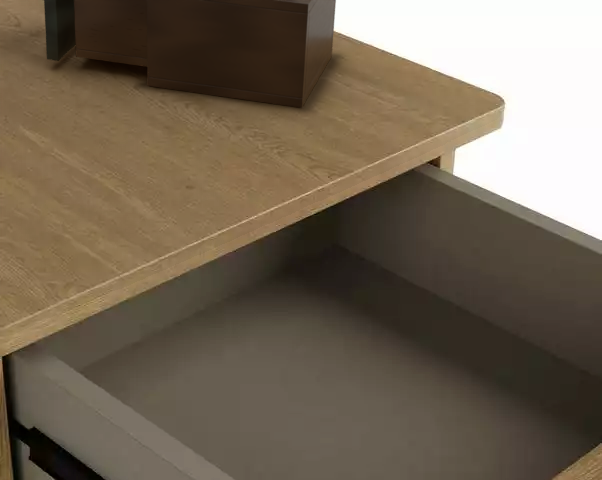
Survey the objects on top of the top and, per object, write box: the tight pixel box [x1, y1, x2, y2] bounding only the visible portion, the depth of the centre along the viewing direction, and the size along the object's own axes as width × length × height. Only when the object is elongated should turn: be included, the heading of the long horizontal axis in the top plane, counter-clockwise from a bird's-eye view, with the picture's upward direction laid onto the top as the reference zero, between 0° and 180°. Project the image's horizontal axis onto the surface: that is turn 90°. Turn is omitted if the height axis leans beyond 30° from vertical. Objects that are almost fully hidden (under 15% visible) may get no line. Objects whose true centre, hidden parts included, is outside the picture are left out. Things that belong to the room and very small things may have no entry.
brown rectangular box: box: [146, 0, 337, 108], centre depth 123 cm, size 15×14×10 cm
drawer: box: [43, 0, 147, 68], centre depth 125 cm, size 20×13×8 cm, turn 77°
